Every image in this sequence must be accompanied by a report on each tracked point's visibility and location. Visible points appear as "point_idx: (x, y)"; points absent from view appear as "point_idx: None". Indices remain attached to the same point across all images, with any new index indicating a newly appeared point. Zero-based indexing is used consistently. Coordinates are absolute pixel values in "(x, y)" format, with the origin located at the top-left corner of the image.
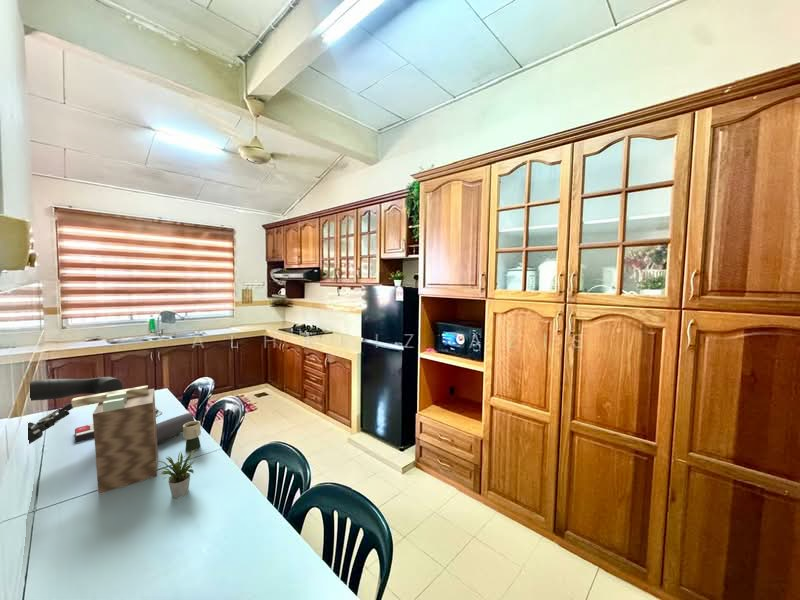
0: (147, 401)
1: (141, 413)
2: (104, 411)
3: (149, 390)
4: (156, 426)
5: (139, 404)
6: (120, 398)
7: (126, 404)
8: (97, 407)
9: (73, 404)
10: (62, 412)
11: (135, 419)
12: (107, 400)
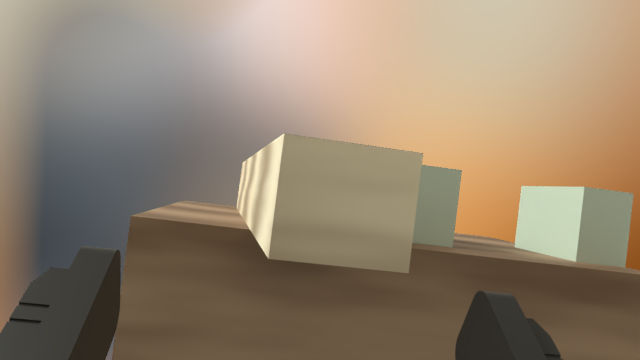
0: (457, 234)
1: None
2: (620, 263)
3: (213, 205)
4: None
5: (502, 241)
6: (534, 186)
7: (481, 242)
8: (492, 257)
9: (411, 219)
10: (520, 330)
11: None
12: (455, 204)
